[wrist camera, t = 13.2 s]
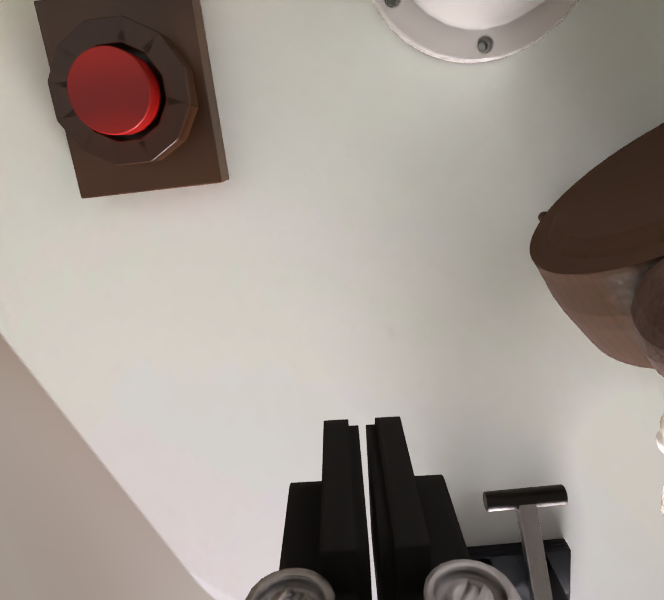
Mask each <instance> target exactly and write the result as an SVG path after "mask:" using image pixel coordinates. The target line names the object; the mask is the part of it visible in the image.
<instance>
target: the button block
mask: <svg viewBox="0 0 664 600" xmlns="http://www.w3.org/2000/svg"><path fill="white" fill-rule="evenodd" d="M34 4H35V9H36V13H37V17H38V21H39V25H40V29H41V33H42V37H43V41H44V46H45V50H46V54H47V58H48V62H49V66H50V70H51V71H50V74H49V78H48V85H49V89H50V94H51V98H52V102H53V106H54V110H55V114H56V118H57V120H58V122H59V123H60V125H61V126H62V127H63V128H64V129H65V132H66V136H67V140H68V144H69V148H70V152H71V157H72V161H73V165H74V169H75V173H76V177H77V181H78V185H79V189H80V194H81V198H92V197H101V196H109V195H118V194H127V193H135V192H144V191H153V190H161V189H170V188H178V187H187V186H196V185H204V184H213V183H221V182H224V181H226V180H228V179H229V175H228V169H227V163H226V157H225V151H224V145H223V139H222V132H221V126H220V120H219V114H218V108H217V102H216V96H215V90H214V84H213V78H212V72H211V65H210V59H209V53H208V47H207V41H206V35H205V29H204V23H203V17H202V11H201V4H200V0H39V1H34ZM96 46H113V47H117V48H119V49H122V50H124V51H127V52H129V53H132V54H134V55H136V56H138V57H139V58H141V59H142V60H144V61H145V62H146V63H147V64H148V65H149V66H150V68H151V69H152V70H153V72H154V73H155V75H156V77H157V79H158V82H159V85H160V90H161V105H160V109H159V112H158V115H157V117H156V118H155V120H154V121H153V123H152V124H151V125H150V126H149V127H148V128H146V129H145V130H143V131H141V132H139V133H136V134H132V135H108V134H103V133H100V132H97V131H95V130H93V129H92V128H90V127H89V126H87V125H86V124H85V123H84V122H83V121H82V120H81V119H80V118H79V117H78V116H77V114H76V113H75V111H74V109H73V108H72V105H71V103H70V100H69V97H68V92H67V78H68V73H69V70H70V68H71V66H72V64H73V62H74V61H75V59H76V58H77V57H78V56H79V55H80V54H81V53H83V52H84V51H86V50H87V49H89V48H92V47H96Z"/></svg>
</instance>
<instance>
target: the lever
mask: <svg viewBox="0 0 664 600" xmlns="http://www.w3.org/2000/svg"><path fill="white" fill-rule="evenodd" d="M483 502H484V506H485V509H486V511H487V512H491V511H502V510H513V509H516V514H517V520H518V526H519V532H520V538H521V544H522V551H523V557H524V563H525V569H526V575H527V581H528V587H529V594H530V600H553V598H552V592H551V586H550V580H549V575H548V569H547V563H546V557H545V551H544V545H543V539H542V534H541V528H540V522H539V516H538V510H537V507H545V506H556V505H566V504H567V502H568V497H567V492H566V490H565V487H564V486H563V485H551V486H540V487H529V488H519V489H508V490H498V491H487V492H483Z"/></svg>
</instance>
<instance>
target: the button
mask: <svg viewBox="0 0 664 600" xmlns="http://www.w3.org/2000/svg"><path fill="white" fill-rule="evenodd" d="M67 92H68V97H69V100H70V103H71V105H72V108H73V109H74V111H75V113H76V114H77V116H78V117H79V118H80V119H81V120H82V121H83V122H84V123H85V124H86V125H87V126H89V127H90V128H92V129H93V130H95V131H97V132H100V133H103V134H108V135H132V134H136V133H139V132H141V131H143V130H145V129H146V128H148V127H149V126H150V125H151V124H152V123H153V121H154V120H155V118H156V117H157V115H158V112H159V109H160V105H161V90H160V85H159V82H158V79H157V77H156V75H155V73H154V72H153V70H152V69H151V68H150V66H149V65H148V64H147V63H146V62H145V61H144V60H142V59H141V58H139V57H138V56H136V55H134V54H132V53H129V52H127V51H124V50H122V49H119V48H117V47H113V46H96V47H92V48H89V49H87V50H86V51H84V52H83V53H81V54H80V55H79V56H78V57H77V58H76V59H75V61H74V62H73V64H72V66H71V68H70V70H69V73H68V78H67Z"/></svg>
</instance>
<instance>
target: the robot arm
mask: <svg viewBox="0 0 664 600" xmlns="http://www.w3.org/2000/svg"><path fill="white" fill-rule="evenodd" d="M372 1H373V3H374V6H375V8H376V9H377V10H378V12H379V13H380V15H381V16H382V17H383V19H384V20H385V22H386V23H387V24H388V26H389V27H390V28H391V29H392V30H393V31H394V32H395V33H396V34H397V35H399V36H400V37H401V38H402V39H403V40H404V41H405V42H406V43H408V44H410V45H411V46H413V47H414V48H416V49H418V50H419V51H421V52H422V53H424V54H427V55H430V56H433V57H435V58H438V59H441V60H444V61H451V62H458V63H480V62H489V61H492V60H496V59H500V58H503V57H507V56H510V55H512V54H514V53H516V52H518V51H521V50H523V49H525V48H527V47H528V46H530V45H531V44H533V43H535V42H536V41H538V40H540V39H541V38H543V37H544V36H545V35H547V34H548V33H549V32H550V31H551V30H552V29H553V28H554V27H555V26H557V25H558V24H559V23H560V22H561V21H562V20H563V19H564V18H565V17H566V15H567V14H568V13H569V12H570V10H571V9H572V8H573V7H574V5H575V4H576V3H577V2H578V0H395V5H394V6H392V7H390V6H388V5H387V3H386V0H372ZM479 42H483V43H484V44H485V46H486V47H485V50H484V51H483V52H482V51H480V50H479V49H478V44H479ZM366 438H367V457H368V477H369V496H370V516H371V534H372V546H373V556H374V567H375V577H376V587H377V597H378V600H522V599H521V597H520V596H519V594H518V592H517V591H516V589H515V587H514V586H513V584H512V583H511V582H510V581H509V579H508V578H507V577H506V576H505V575H504V574H503V573H501V572H500V571H498V570H497V569H496V568H494V567H492V566H490V565H487V564H485V563H483V562H480V561H474V560H471V559H470V556H469V553H468V550H467V547H466V544H465V541H464V538H463V535H462V531H461V528H460V525H459V522H458V519H457V516H456V513H455V510H454V507H453V504H452V501H451V498H450V495H449V492H448V489H447V486H446V483H445V480H444V477H443V476H442V475H426V476H414V473H413V469H412V465H411V460H410V456H409V452H408V448H407V444H406V440H405V436H404V432H403V427H402V423H401V419H400V417H382V418H375V424H374V425H366ZM246 600H372V591H371V572H370V555H369V541H368V529H367V518H366V507H365V496H364V485H363V473H362V462H361V451H360V440H359V429H358V425H357V426H349V425H348V419H346V420H328V421H324V432H323V464H322V481H316V482H297V483H291V484H290V487H289V495H288V503H287V511H286V519H285V527H284V535H283V543H282V551H281V559H280V567H279V571H276V572H273V573H271V574H269V575H267V576H266V577H264V578H262V579H261V580H260V581H259V582H258V583H257V584H256V585H255V586H254V587H253V588H252V589H251V591H250V593H249V594H248V596H247V598H246Z"/></svg>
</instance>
